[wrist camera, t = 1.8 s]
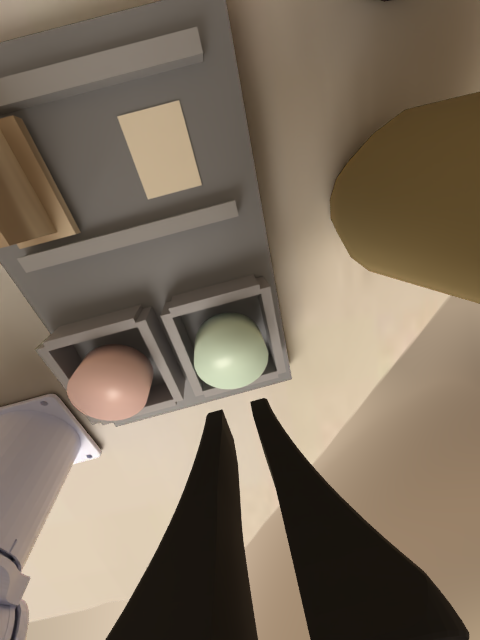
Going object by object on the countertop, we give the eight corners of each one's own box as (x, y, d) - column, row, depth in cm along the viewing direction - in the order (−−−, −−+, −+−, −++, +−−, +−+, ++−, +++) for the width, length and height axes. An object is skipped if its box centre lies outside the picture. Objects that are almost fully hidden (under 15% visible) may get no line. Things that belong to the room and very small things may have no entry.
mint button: (206, 376, 18) (206, 397, 16) (185, 323, 15) (183, 340, 14) (266, 359, 18) (273, 378, 16) (254, 304, 16) (260, 319, 14)
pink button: (102, 404, 18) (91, 428, 16) (67, 354, 15) (50, 376, 14) (163, 387, 18) (158, 409, 16) (137, 336, 15) (128, 354, 14)
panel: (121, 412, 22) (107, 449, 19) (-93, 89, 12) (-201, 52, 8) (286, 367, 22) (300, 396, 19) (220, 7, 12) (227, -59, 9)
